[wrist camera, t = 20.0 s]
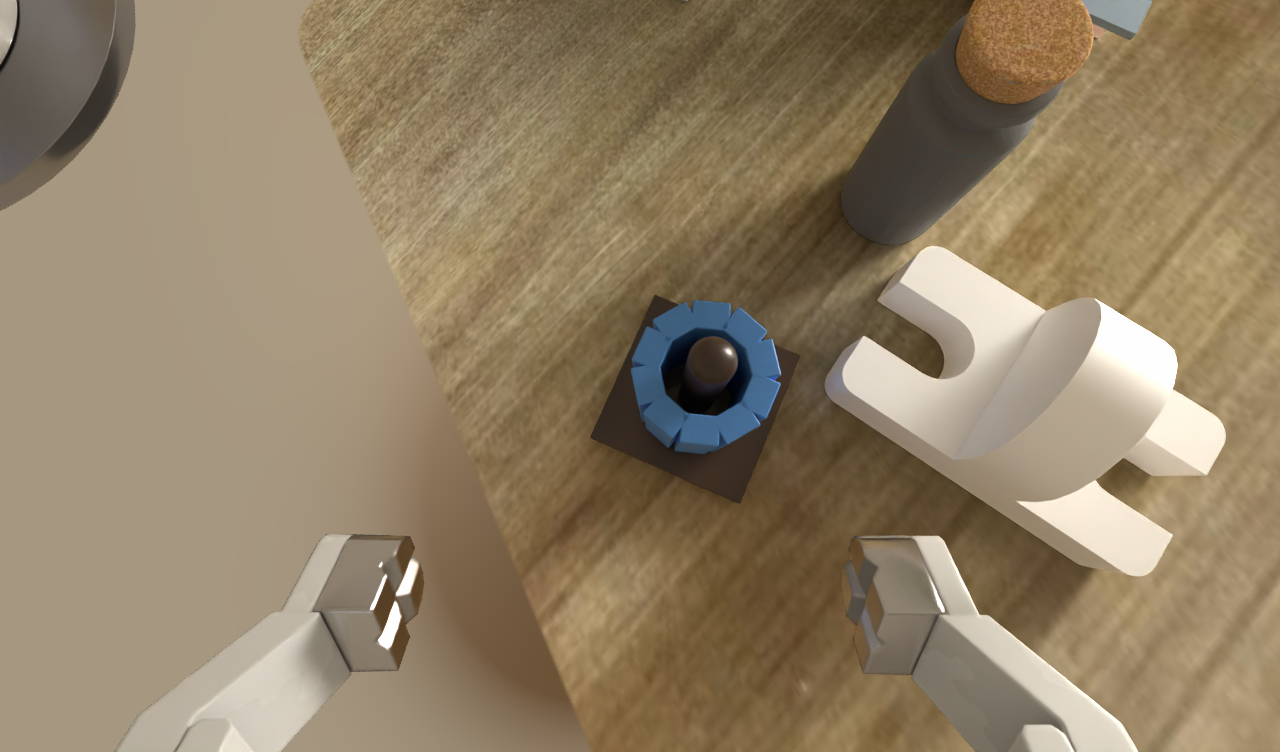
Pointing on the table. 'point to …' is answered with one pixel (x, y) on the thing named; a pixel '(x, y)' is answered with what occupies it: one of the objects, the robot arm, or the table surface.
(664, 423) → the pen holder
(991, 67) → the bottle
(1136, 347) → the white u-slot block
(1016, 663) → the robot arm
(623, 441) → the paper towel holder
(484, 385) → the table surface
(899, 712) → the table surface
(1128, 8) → the desk lamp
